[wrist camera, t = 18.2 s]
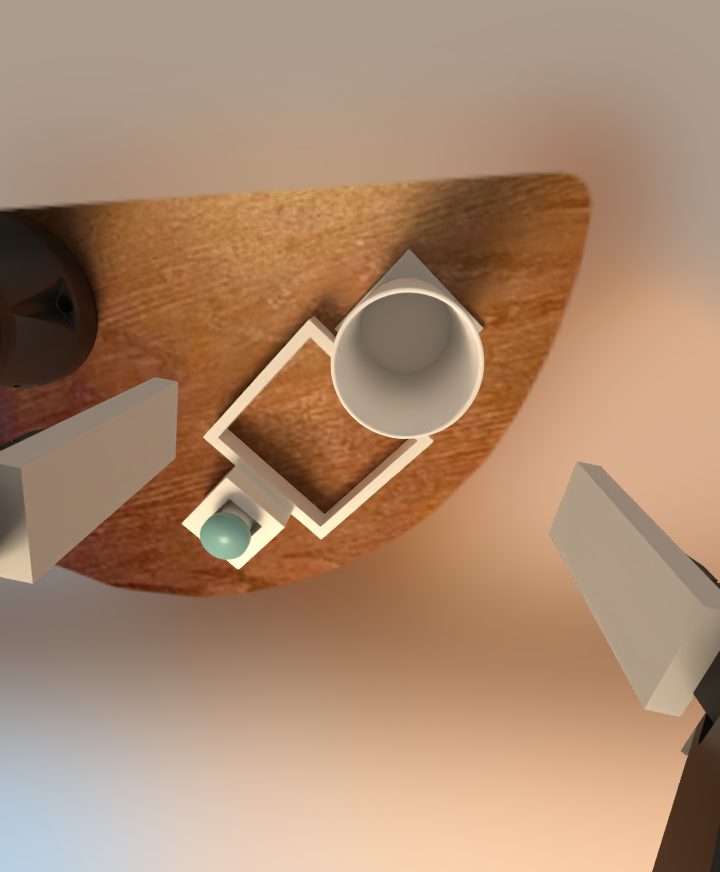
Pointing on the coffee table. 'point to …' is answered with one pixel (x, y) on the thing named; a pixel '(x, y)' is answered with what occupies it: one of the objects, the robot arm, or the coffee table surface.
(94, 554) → the coffee table surface
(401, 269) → the pad
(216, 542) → the mint mushroom button
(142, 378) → the coffee table surface
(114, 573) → the coffee table surface
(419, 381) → the cup
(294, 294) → the coffee table surface
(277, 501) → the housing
